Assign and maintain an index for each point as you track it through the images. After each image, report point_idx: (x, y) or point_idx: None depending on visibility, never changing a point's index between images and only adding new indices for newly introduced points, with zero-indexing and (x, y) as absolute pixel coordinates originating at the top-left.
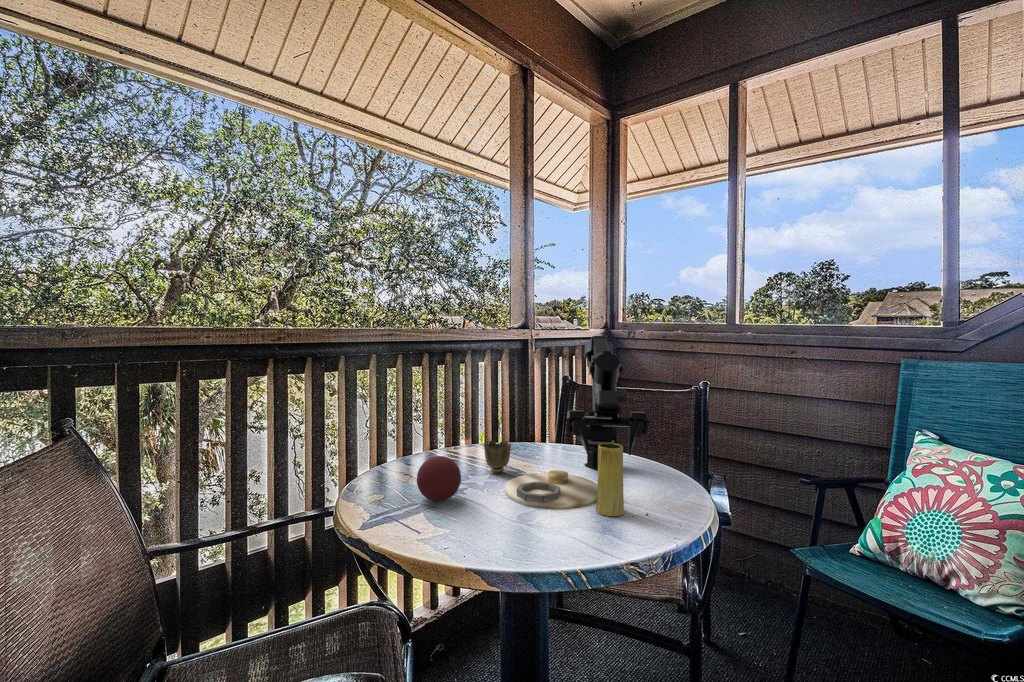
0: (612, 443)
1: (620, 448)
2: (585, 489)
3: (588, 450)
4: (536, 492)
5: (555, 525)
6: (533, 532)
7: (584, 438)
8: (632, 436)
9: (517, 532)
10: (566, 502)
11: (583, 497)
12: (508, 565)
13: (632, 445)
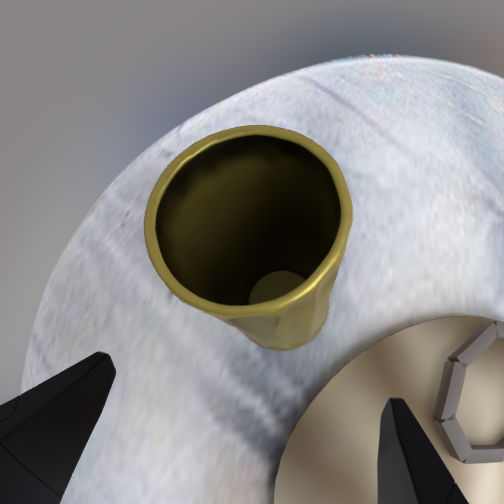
0: (201, 299)
1: (187, 148)
2: (333, 474)
3: (393, 400)
4: (496, 415)
5: (439, 200)
6: (473, 166)
7: (439, 478)
8: (12, 409)
9: (498, 168)
10: (421, 336)
11: (358, 392)
12: (466, 74)
13: (58, 374)
